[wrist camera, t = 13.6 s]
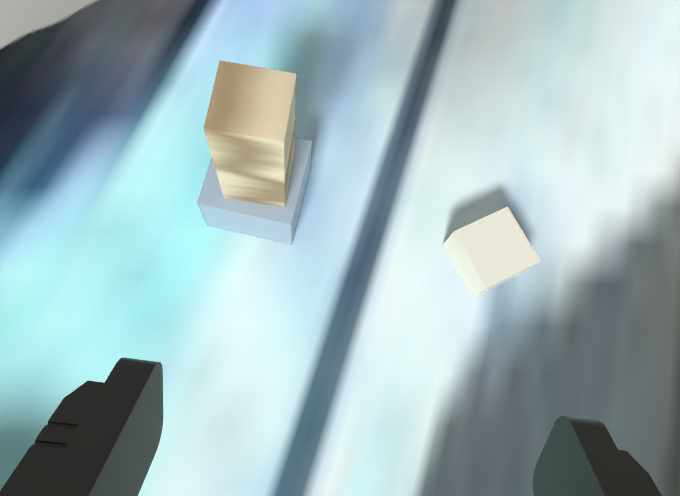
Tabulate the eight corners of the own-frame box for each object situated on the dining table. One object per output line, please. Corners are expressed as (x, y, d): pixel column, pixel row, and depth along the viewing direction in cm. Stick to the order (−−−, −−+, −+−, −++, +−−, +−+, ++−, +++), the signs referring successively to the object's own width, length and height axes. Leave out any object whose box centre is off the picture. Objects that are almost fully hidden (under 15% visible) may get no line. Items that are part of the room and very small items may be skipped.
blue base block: (310, 169, 46) (312, 141, 42) (291, 245, 44) (291, 224, 39) (230, 151, 46) (223, 121, 42) (207, 226, 44) (197, 203, 39)
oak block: (294, 153, 41) (296, 73, 32) (284, 207, 40) (284, 141, 30) (235, 143, 41) (219, 60, 31) (223, 197, 40) (203, 128, 30)
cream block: (522, 273, 45) (540, 261, 42) (472, 298, 44) (486, 288, 41) (492, 221, 46) (507, 206, 43) (442, 245, 45) (454, 231, 42)
